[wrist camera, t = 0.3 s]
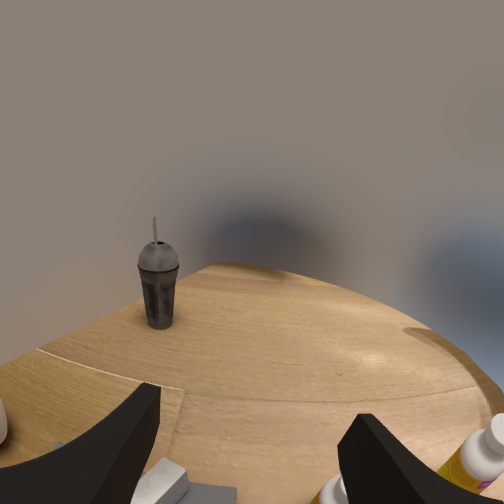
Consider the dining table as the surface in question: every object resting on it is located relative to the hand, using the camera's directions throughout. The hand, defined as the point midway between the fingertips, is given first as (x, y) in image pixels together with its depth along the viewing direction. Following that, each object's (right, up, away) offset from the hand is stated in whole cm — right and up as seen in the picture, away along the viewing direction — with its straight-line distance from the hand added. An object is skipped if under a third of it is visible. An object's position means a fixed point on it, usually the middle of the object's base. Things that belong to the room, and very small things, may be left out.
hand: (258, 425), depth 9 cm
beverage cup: (-17, -7, +42) cm, 46 cm away
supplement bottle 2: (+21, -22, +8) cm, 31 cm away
